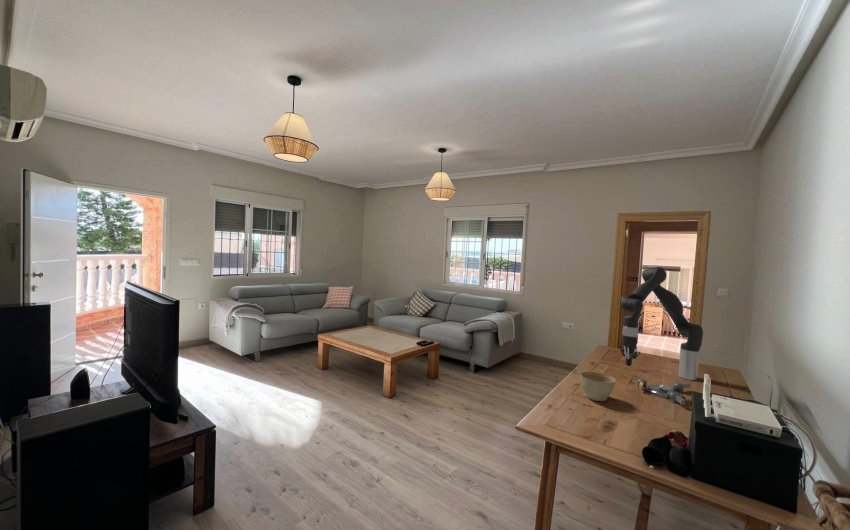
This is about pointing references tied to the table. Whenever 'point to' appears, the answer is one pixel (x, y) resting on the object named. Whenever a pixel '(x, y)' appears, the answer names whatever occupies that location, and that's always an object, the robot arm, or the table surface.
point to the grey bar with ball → (681, 386)
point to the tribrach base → (662, 391)
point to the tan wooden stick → (642, 383)
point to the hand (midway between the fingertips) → (628, 365)
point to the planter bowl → (597, 385)
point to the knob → (676, 397)
